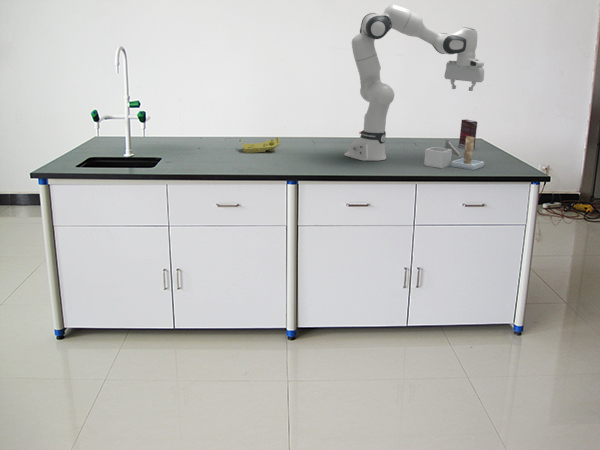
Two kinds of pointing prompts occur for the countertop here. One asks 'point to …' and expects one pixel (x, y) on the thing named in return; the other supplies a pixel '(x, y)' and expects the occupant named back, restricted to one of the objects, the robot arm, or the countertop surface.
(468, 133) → the supplement box
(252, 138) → the countertop surface
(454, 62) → the robot arm
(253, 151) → the plastic component
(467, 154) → the dowel
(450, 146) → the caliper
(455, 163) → the tray
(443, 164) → the white open box
